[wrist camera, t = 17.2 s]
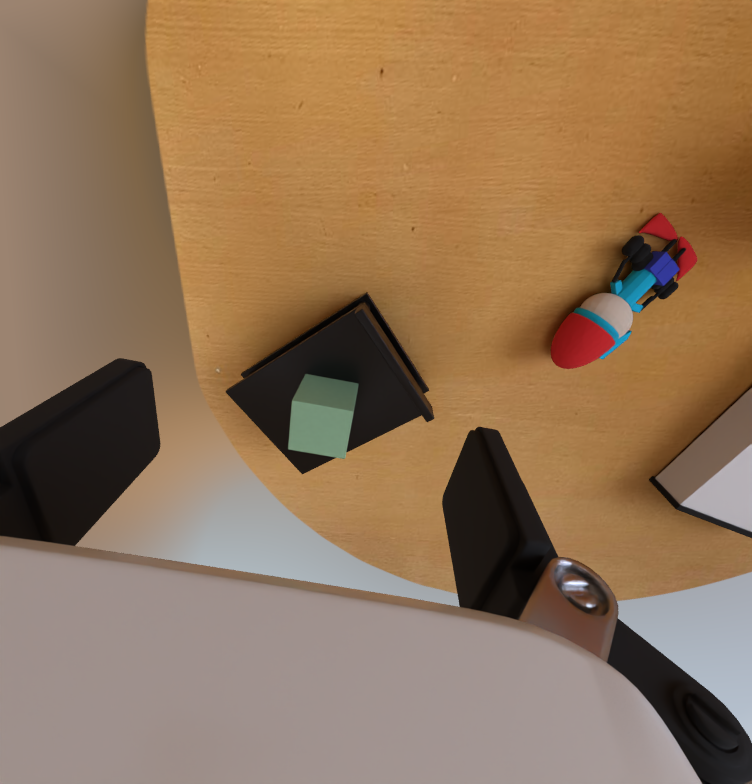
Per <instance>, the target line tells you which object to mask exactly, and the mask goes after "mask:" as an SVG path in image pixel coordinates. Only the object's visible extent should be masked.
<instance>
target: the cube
mask: <svg viewBox="0 0 752 784" xmlns="http://www.w3.org/2000/svg"><path fill="white" fill-rule="evenodd" d="M358 385H359V384H358V383H353V382H347V381H342V380H336V379H331V378H326V377H320V376H315V375H309V374H305V376H304V378H303V380H302V382H301V384H300V386H299V388H298V390H297V392H296V394H295V396H294V398H293V400H292V406H291V418H290V431H289V443H288V449H289V450H295V451H301V452H307V453H313V454H319V455H324V456H330V457H336V458H342V459H345V456H346V451H347V446H348V440H349V435H350V429H351V424H352V418H353V413H354V407H355V402H356V396H357V391H358Z"/></svg>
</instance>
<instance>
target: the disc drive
mask: <svg viewBox="0 0 752 784" xmlns="http://www.w3.org/2000/svg"><path fill="white" fill-rule="evenodd" d="M649 480H650V481H651V483H652V484H653V485H654V486H655V487H656V488H657V489H658V490H659V491H660V492H661V493H662V495H663V496H664V497H665V498H666V499H667V500H668V501H669V502H670V503H671V504H672V505H673V507H674V508H675V509H677V510H679V511H682V512H685V513H687V514H690V515H692V516H695V517H698V518H700V519H703V520H706V521H708V522H711V523H714V524H716V525H719V526H721V527H724V528H727V529H729V530H732V531H735V532H737V533H740V534H743V535H745V536H748V537H750V538H752V388H751V389H750V390H748V391H747V392H746V393H745V394H744V395H743V396H742V397H741V398H740V399H739V400H738V401H737V402H736V403H735V404H734V405H732V406H731V407H730V408H729V409H728V410H727V411H726V412H725V413H724V414H723V415H722V416H721V417H720V418H719V419H718V420H716V421H715V422H714V423H713V424H712V425H711V426H710V427H709V428H708V429H707V430H706V431H705V432H704V433H703V434H702V435H701V436H699V437H698V438H697V439H696V440H695V441H694V442H693V443H692V444H691V445H690V446H689V447H688V448H687V449H686V450H685V451H683V452H682V453H681V454H680V455H679V456H678V457H677V458H676V459H675V460H674V461H673V462H672V463H671V464H670V465H669V466H667V467H666V468H665V469H664V470H663V471H662V472H661V473H660V474H659V475H658V476H657V477H653V476H652V477H651V478H650V479H649Z"/></svg>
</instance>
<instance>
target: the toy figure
mask: <svg viewBox="0 0 752 784" xmlns="http://www.w3.org/2000/svg"><path fill="white" fill-rule="evenodd" d="M639 233H648V234H652V235H654V236H657V237H660V238H663V239H665V240H668V241H671V242H670V243H669V244H668V245H667V246H666V247H665V248H664V249H663V250H662V251H661V252H658V251H653V252H652V253H651V246H650V245H649V244H646V243H644V238H643V237H642V236H639V235H637V236H634V237H632V238H631V239H630V240H629V241H628V242H627V243H626V244H625V245H624V246H623V248H622V253H623V254H624V255H625V256H628V257H627V258H626V259H625V260H623V261H622V262H621V264H620V266H619V268H618V270H617V272H616V274H615V276H614V278H613V280H612V282H610V285H611V294H610V293H600V294H596V295H593V296H591V297H589V298H588V299H587V300H585V301H584V302H583V304H582V305H581V307H580V308H576V309H575V311H574V313H570V314H569V315H568V316H567V317H566V319H565V320H564V321H563V323H562V324H561V325H560V327H559V329H558V330H557V332H556V334H555V336H554V338H553V341H552V345H551V358H552V360H553V362H554V363H555V364H556V365H557V366H559V367H561V368H566V369H571V368H577V367H581V366H584V365H586V364H588V363H590V362H592V361H594V360H596V359H598V358H601V359H604V358H605V357H606V356H607V355H609V354H610V353H611V352H612V351H614V350H615V349H616V348H617V347H618V346H620V345H621V344H622V343H623V342H624V341H626V340H627V339H628V337H629V336H630V334H631V332H632V331H629V329H630V327H631V324H632V321H633V313H632V311H634V312H638V313H640V311H641V310H643V309H644V308H645V307H646V306H647V305H648V304H649V303H650V302H651V301H653V300H654V299H655V298H656V297H657V296H658V297H659V298H660V299H666V298H667V297H668V296H670V295H671V294H672V293H673V292H674V291H675V290H676V289H677V288H678V283H676V282H674V278H673V276H674V275H675V274H676V273H677V279H676V281H678V280H679V279H680V278H681V277H682V276H684V275H685V274H686V273H687V272H688V271H689V270H690V269H691V268H692V267H693V266H694V265H695V264H696V262H697V256H696V254H695V252H694V250H693V248H692V246H691V245H690V244H689V242H688V241H687V240H686V239H685V238H683V237H680V238H679V241H678V252H677V254H676V255H675V256H674V257H673V258H672V259H671V257H670V256H669V254H668V253H667V251H668V250H669V249H670V248H671V247H672V246H673V245H674V244H675V243H676V242H677V240H678V237H677V234H676V232H675V230H674V228H673V226H672V225H671V224H670V222H669V221H668V220H667V219H666V217H665V216H664V215H663V214H662V213H659V214H657V215H656V216H655V217H654V218H652V219H651V220H650V221H649V222H648V223H647V224H646V225H645V226H644V227H643V228H642V229H641V230H640V232H639ZM628 260H629V261H630V262H631V263H632V265H631V267H632V269H633V271H632V272H631V273H630V274H629V275H628V276H627V277H626V279H625V280H624V281H623V282H622V280H617V279H618V277H619V275H620V273H621V271H622V269H623V267H624V265H625V264H626V263H627V261H628ZM676 260H677V265H676V263H675V261H676ZM650 287H651V288H652V289H654V291H655V292H656V294H655V295H654V296H651V297H649V298H648V299H647V300H646V301H645V302H644V303H643V304H642V305H639V304H636V302H637V301H638V300H639V299H640V298H641V297H642V296H643V295H644V294H645V293H646V292H647V291H648V289H649V288H650Z"/></svg>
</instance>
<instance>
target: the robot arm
mask: <svg viewBox="0 0 752 784" xmlns="http://www.w3.org/2000/svg"><path fill="white" fill-rule="evenodd" d="M159 449H160V437H159V429H158V421H157V413H156V405H155V397H154V388H153V381H152V374H151V371H150V370H149V369H147V368H146V366H145V364H144V363H142V362H138V361H133V360H127V359H121V358H119V359H116V360H114V361H113V362H111V363H109V364H107V365H106V366H104V367H102V368H101V369H99V370H97V371H95V372H94V373H92V374H90V375H89V376H87V377H85V378H84V379H82V380H80V381H78V382H77V383H75V384H73V385H72V386H70V387H68V388H67V389H65V390H63V391H61V392H60V393H58V394H56V395H55V396H53V397H51V398H50V399H48V400H46V401H44V402H43V403H41V404H39V405H38V406H36V407H34V408H33V409H31V410H29V411H28V412H26V413H24V414H23V415H21V416H19V417H17V418H16V419H14V420H12V421H11V422H9V423H7V424H5V425H4V426H2V427H0V784H752V743H751V740H750V738H749V736H748V735H747V734H746V732H745V730H744V729H743V727H742V726H741V724H740V723H739V721H738V720H737V719H736V718H735V716H734V715H733V714H732V713H731V712H730V711H729V710H728V708H727V707H726V706H725V705H724V704H723V703H722V702H721V701H720V700H718V699H717V698H716V697H715V696H714V695H713V694H712V693H711V692H710V691H708V690H707V689H706V688H705V687H703V686H702V685H701V684H699V683H698V682H697V681H696V680H695V679H693V678H692V677H691V676H690V675H688V674H687V673H686V672H685V671H683V670H682V669H681V668H680V667H678V666H677V665H676V664H674V663H673V662H672V661H671V660H669V659H668V658H667V657H666V656H664V655H663V654H662V653H661V652H659V651H658V650H657V649H656V648H654V647H653V646H652V645H651V644H649V643H648V642H647V641H646V640H644V639H643V638H642V637H641V636H639V635H638V634H637V633H635V632H634V631H633V630H631V629H630V628H629V627H628V626H627V625H625V624H624V623H623V622H622V621H620V620H619V619H618V604H617V601H616V598H615V595H614V594H613V592H612V591H611V589H610V588H609V586H608V585H607V584H606V583H605V581H604V580H603V579H602V578H601V577H600V576H599V575H598V574H597V573H595V572H594V571H593V570H592V569H590V568H589V567H588V566H586V565H584V564H582V563H581V562H579V561H576V560H573V559H570V558H565V557H558V555H557V553H556V551H555V549H554V547H553V545H552V542H551V540H550V538H549V536H548V534H547V532H546V530H545V528H544V525H543V523H542V521H541V519H540V517H539V515H538V513H537V511H536V508H535V506H534V504H533V502H532V500H531V498H530V496H529V494H528V491H527V489H526V487H525V485H524V483H523V482H522V480H521V478H520V476H519V474H518V471H517V469H516V467H515V465H514V463H513V461H512V459H511V456H510V454H509V452H508V450H507V448H506V446H505V444H504V442H503V439H502V437H501V435H500V433H499V431H498V430H494V429H489V428H484V427H477V428H476V430H475V431H474V430H471V431H470V432H469V433H468V436H467V438H466V440H465V443H464V445H463V448H462V450H461V453H460V455H459V458H458V460H457V463H456V465H455V467H454V470H453V472H452V475H451V477H450V480H449V482H448V485H447V487H446V490H445V492H444V495H443V501H442V505H443V512H444V517H445V523H446V529H447V535H448V541H449V546H450V552H451V558H452V564H453V570H454V575H455V581H456V587H457V593H458V599H459V605H460V607H456V606H451V605H446V604H440V603H434V602H428V601H423V600H417V599H412V598H406V597H400V596H393V595H387V594H381V593H375V592H369V591H362V590H356V589H350V588H344V587H338V586H331V585H324V584H318V583H312V582H306V581H300V580H294V579H287V578H281V577H274V576H268V575H262V574H255V573H248V572H242V571H236V570H229V569H223V568H216V567H210V566H203V565H197V564H190V563H184V562H177V561H171V560H164V559H158V558H151V557H143V556H138V555H131V554H124V553H117V552H111V551H103V550H97V549H90V548H84V547H77V546H75V545H76V544H77V543H78V542H79V540H81V538H82V537H83V536H84V535H85V534H86V533H87V532H88V531H89V530H90V529H91V527H92V526H93V525H94V524H95V523H96V522H97V521H98V520H99V518H100V517H101V516H102V515H103V514H104V513H105V512H106V511H107V510H108V509H109V507H110V506H111V505H112V504H113V503H114V502H115V501H116V500H117V499H118V498H119V496H120V495H121V494H122V493H123V492H124V491H125V490H126V489H127V488H128V487H129V485H130V484H131V483H132V482H133V481H134V480H135V478H137V477H138V476H139V474H140V473H141V472H142V471H143V470H144V469H145V468H146V467H147V465H148V464H149V463H150V462H151V461H152V460H153V459H154V458H155V457H156V455H157V454H158V452H159Z"/></svg>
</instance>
